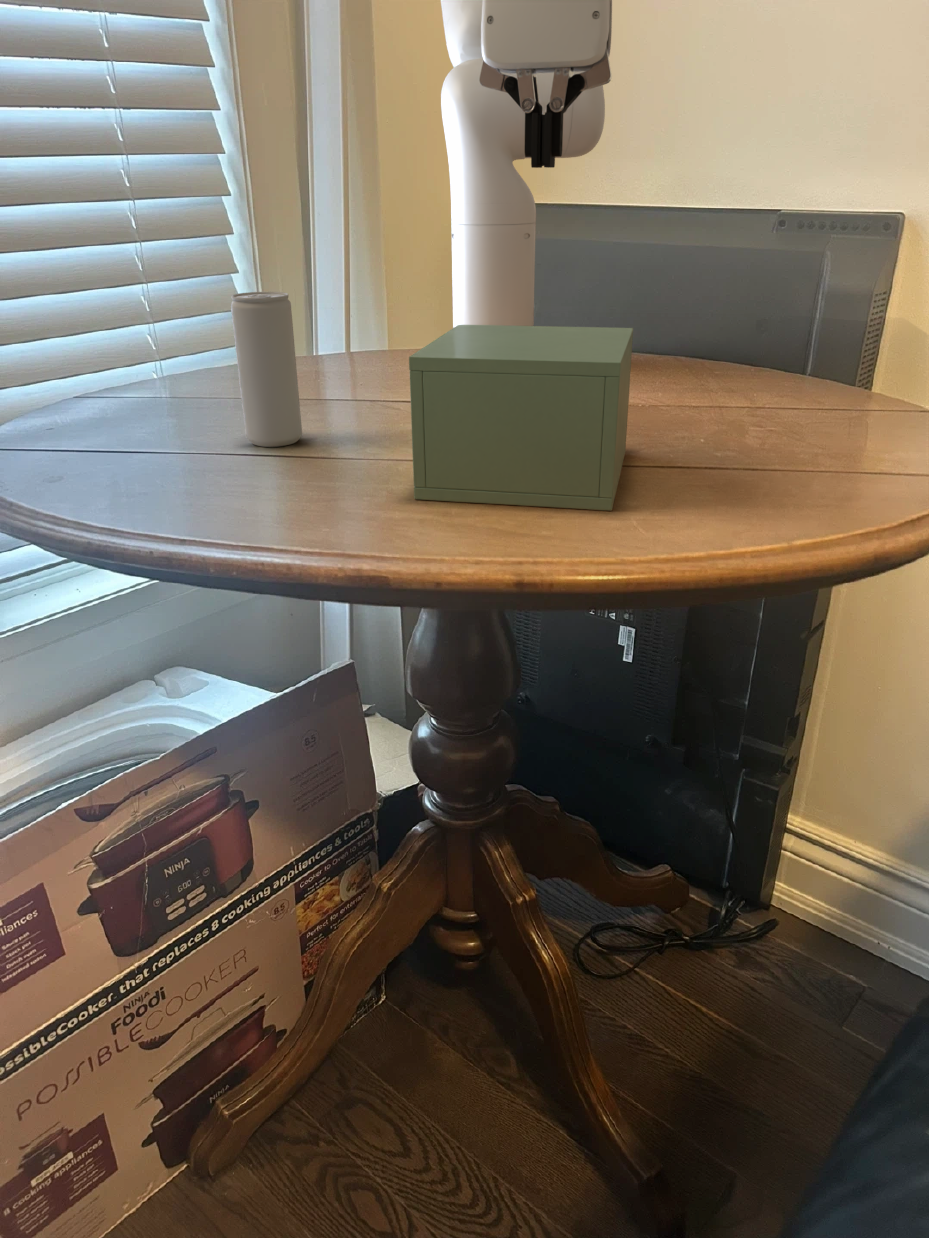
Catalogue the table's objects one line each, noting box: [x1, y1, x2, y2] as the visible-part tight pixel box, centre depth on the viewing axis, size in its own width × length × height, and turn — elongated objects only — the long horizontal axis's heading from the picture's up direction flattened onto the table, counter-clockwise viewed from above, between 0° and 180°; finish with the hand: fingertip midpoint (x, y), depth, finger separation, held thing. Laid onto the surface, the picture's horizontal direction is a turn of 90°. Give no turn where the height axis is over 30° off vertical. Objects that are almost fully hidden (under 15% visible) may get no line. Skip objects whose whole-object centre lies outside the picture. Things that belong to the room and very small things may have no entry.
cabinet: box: [408, 325, 634, 512], centre depth 68 cm, size 15×14×10 cm
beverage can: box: [230, 291, 303, 448], centre depth 77 cm, size 5×5×12 cm
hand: (543, 167), depth 78 cm, fingers closed
